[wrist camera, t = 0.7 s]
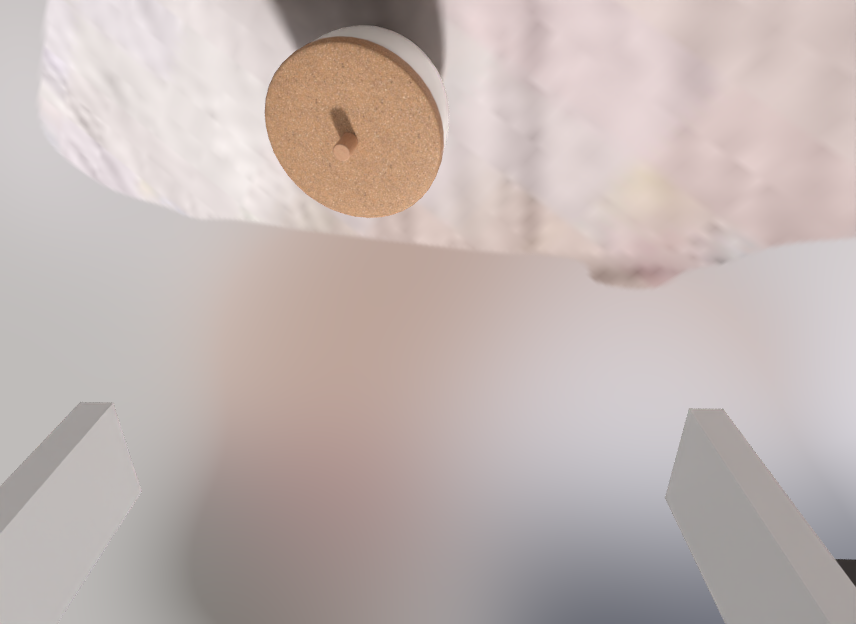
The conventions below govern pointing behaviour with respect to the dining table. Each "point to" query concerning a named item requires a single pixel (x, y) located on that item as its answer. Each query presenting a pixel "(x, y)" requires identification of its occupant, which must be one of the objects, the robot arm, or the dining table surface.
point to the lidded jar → (359, 120)
